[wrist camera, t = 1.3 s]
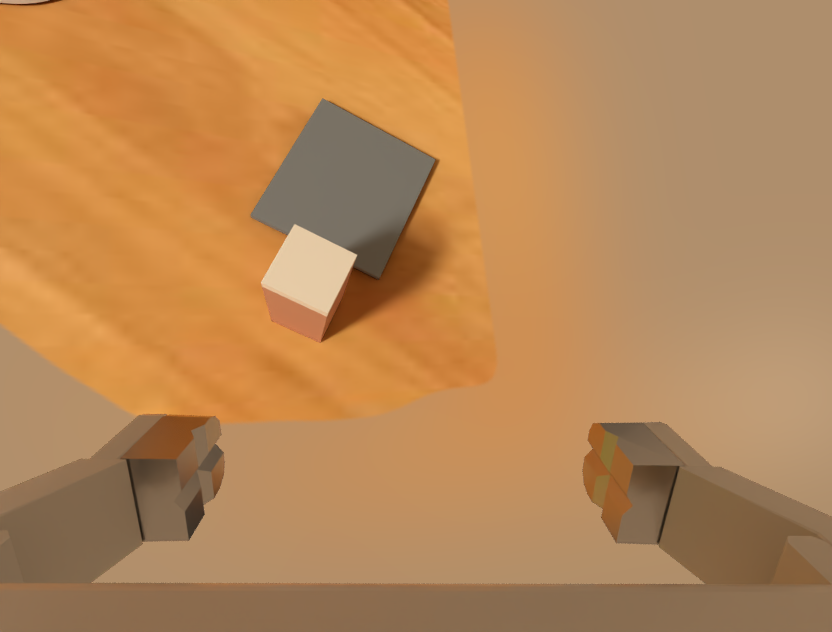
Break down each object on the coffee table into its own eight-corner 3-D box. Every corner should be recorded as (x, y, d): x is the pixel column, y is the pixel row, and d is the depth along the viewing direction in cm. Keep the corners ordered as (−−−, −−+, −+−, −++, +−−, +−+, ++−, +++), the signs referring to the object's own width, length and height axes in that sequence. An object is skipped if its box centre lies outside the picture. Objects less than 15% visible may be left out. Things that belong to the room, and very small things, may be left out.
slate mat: (251, 217, 43) (250, 214, 42) (322, 102, 48) (322, 98, 47) (378, 279, 45) (379, 277, 44) (434, 162, 50) (435, 159, 49)
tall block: (271, 320, 41) (260, 282, 30) (295, 276, 42) (294, 223, 31) (320, 342, 42) (327, 313, 30) (342, 298, 43) (357, 254, 32)
